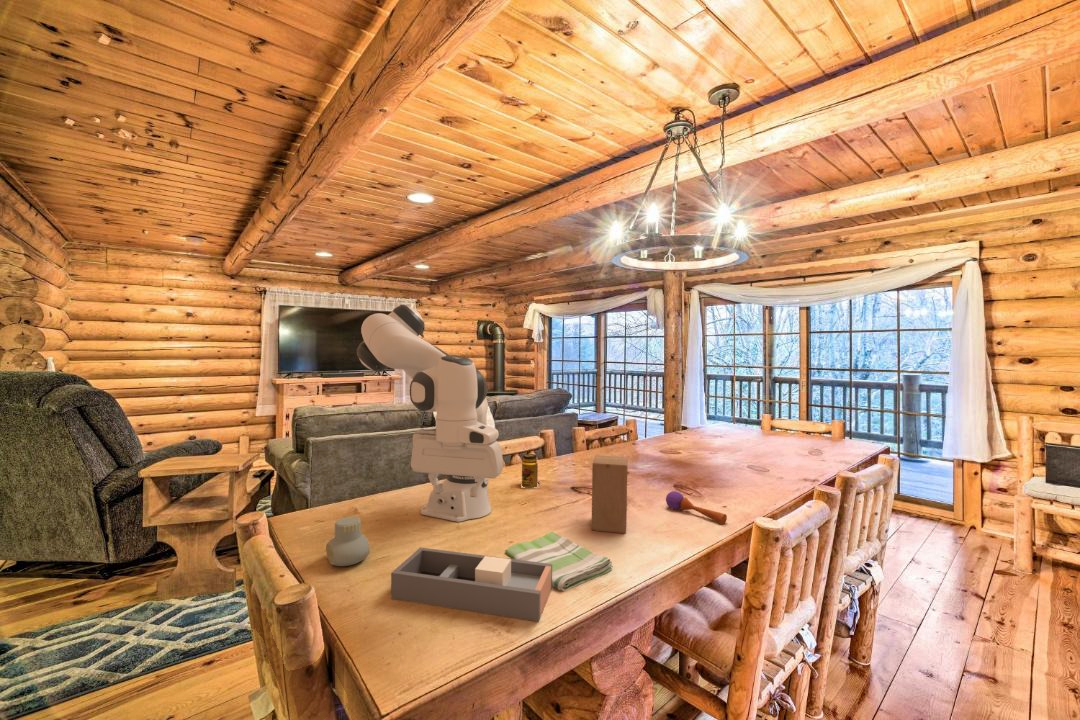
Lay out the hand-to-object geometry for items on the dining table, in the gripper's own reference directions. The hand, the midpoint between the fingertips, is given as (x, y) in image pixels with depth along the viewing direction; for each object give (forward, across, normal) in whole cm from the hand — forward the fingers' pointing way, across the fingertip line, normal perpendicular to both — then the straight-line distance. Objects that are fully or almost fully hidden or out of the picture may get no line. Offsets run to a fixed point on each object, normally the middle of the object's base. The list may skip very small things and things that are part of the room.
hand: (456, 494), depth 97 cm
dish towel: (+22, +19, +19) cm, 35 cm away
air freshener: (+21, -31, +6) cm, 38 cm away
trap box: (+21, +4, 0) cm, 22 cm away
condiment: (+22, -4, +77) cm, 80 cm away
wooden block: (+21, +30, +45) cm, 58 cm away
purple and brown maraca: (+22, +55, +62) cm, 86 cm away
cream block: (+18, +9, 0) cm, 20 cm away
